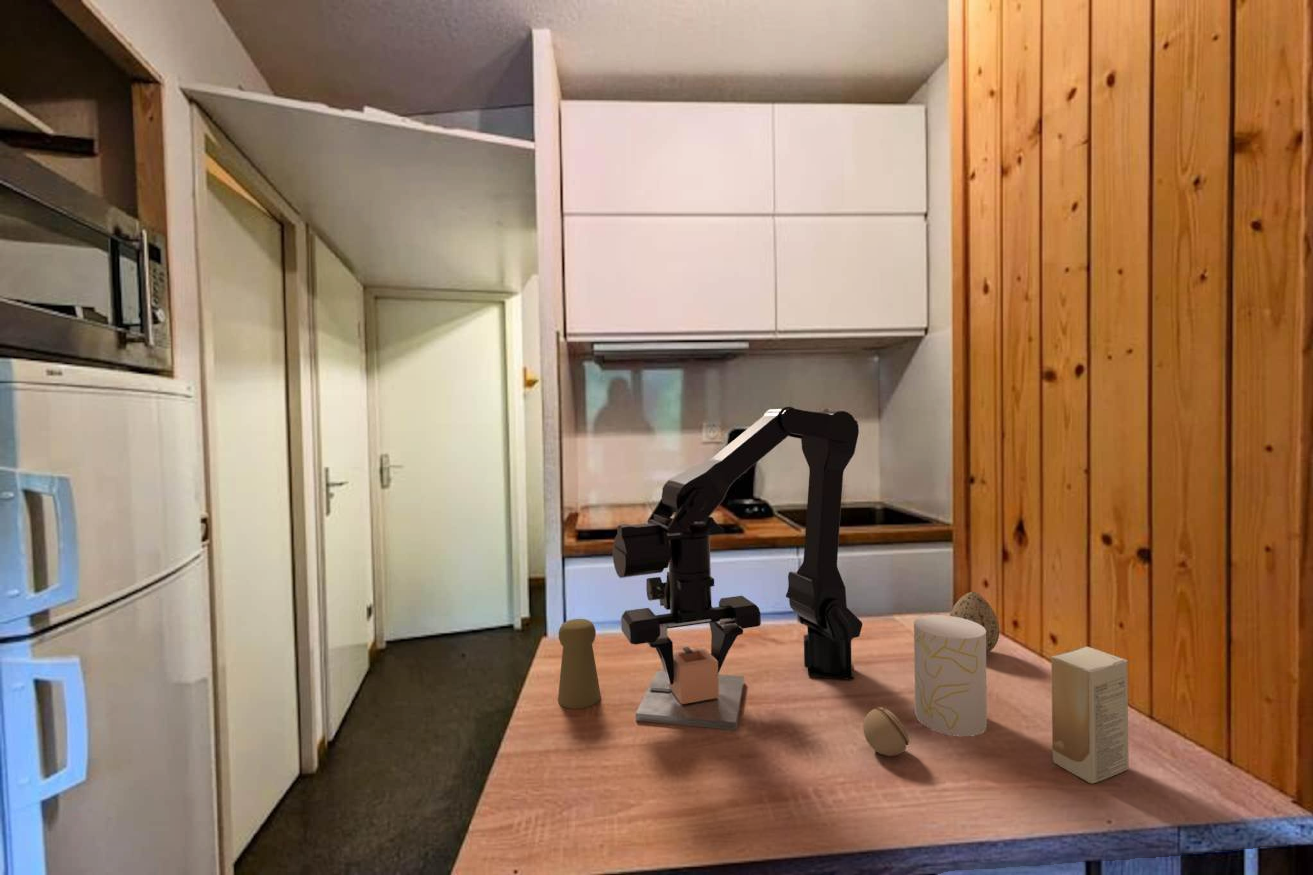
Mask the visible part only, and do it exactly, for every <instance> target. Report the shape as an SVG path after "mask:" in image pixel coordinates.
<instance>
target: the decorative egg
mask: <svg viewBox="0 0 1313 875" xmlns="http://www.w3.org/2000/svg"><path fill="white" fill-rule="evenodd" d="M949 616H953V617H959V618H963V619H967V620H970V621H973V622H976V623H978V624H980V625H981V626H983V627H984V628H985V630H986V654H987V653H989V652H991V651H992V650H993V649H994V648H995V647H996V646H997V644H998V642H999V637H1000V626H999V621H998V617H997V615H996V613H995V611H994V610H993V608H992V606H991V605H990V604H989V602H988V601H987V600H986V599H985V598H984V597H983V596H982V595H981V594H980V593H978V592H975V591H970V592H967V593H965V594H964V595H963V596H961V597H960V598H959V599H958V600H957V602H956V603H955V604H954V605H953V607H952V609H951V611H950V615H949Z"/></svg>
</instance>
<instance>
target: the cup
mask: <svg viewBox="0 0 1313 875" xmlns="http://www.w3.org/2000/svg"><path fill="white" fill-rule="evenodd" d="M913 646H914V647H913V648H914V650H913V652H914V653H913V654H914V656H913V657H914V659H913V660H914V661H913V662H914V665H913V666H914V714H915V715H916V716H915V715H914V716H915V718H916V717H917V718H918V719H919V720H920V721H919V720H918V719H917V718H916V719H917V720H918V721H919V723H921V722H922V723H923V724H925V725H926V726H928V727H929V728H928V727H927V728H928V729H930V728H931V730H932V729H934V730H933V731H935V730H936V731H935V732H937V731H939V732H938V733H940V732H942V733H941V734H943V733H945V734H944V735H947V734H949V736H952V735H955V736H954V737H960V736H970V735H971V737H973V736H972V735H977V734H980V733H982V732H983V731H985V732H986V730H987V728H986V727H988V722H987V718H988V716H987V713H988V712H987V709H988V708H987V653H986V630H985V628H984V627H983V626H981V625H980V624H978V623H976V622H973V621H970V620H967V619H963V618H959V617H953V616H950V615H942V614H941V615H940V614H932V615H931V614H929V615H923V616H918V617H917V618H915V619H914V621H913ZM922 723H921V724H922ZM923 724H922V725H923ZM925 725H924V726H925ZM926 726H925V727H926ZM985 729H986V730H985ZM983 733H984V732H983ZM983 733H982V734H983ZM957 735H958V736H957ZM980 735H981V734H980ZM977 736H978V735H977Z"/></svg>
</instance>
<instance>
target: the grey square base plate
mask: <svg viewBox="0 0 1313 875" xmlns="http://www.w3.org/2000/svg"><path fill="white" fill-rule="evenodd" d="M744 685H745V676H743V675H734V674H733V675H730V674H720V673H718V686H719V698H714V699H708V700H703V701H697V702H692V703H686V704H681V703H680V702H679V700H678V699H677V698H676V696H675V695H674V693H673V692H672V691H671V689H670V688H669V682H668V679H667V676H666V674H665V671H664V669H663V670H662V669H657V671H656V673H655V675H654V676H653V679H652V681H651V682H650V685H649V686H648V689H647V690H646V692H645V694H644V696H643V698H642V700H641V701H640V704H639V705H638V708H637V710H636V711H635V721H636V722H646V723H657V724H666V725H677V726H687V727H696V728H697V727H698V728H709V729H719V730H727V731H728V730H729V731H737V725H738V721H739V714H740V709H741V703H742V696H743V692H744Z"/></svg>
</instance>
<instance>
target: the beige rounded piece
mask: <svg viewBox="0 0 1313 875" xmlns="http://www.w3.org/2000/svg"><path fill="white" fill-rule="evenodd" d="M862 729H863V730H862V731H863V734H864V738H865V740H866V742H867V743H868V745H869V746H870V747H871V748H872V749H873V750H874V751H875V752H877V753H879V754H881V755H882V756H889V757H890V756H897V755H900V754H902V753H903V752H904V751H906V749H907V746H909V743H910V739H909V733H908V730H907V729H906V727H905V726H904V725H903V723H902V722H901V720H900V719H899V718H898V717H897V716H896V715H895V714H894V713H893V712H892V711H891V710H889V709H886V708H884V707H881V706H880V707H877V708H876V709H875V708H874V709H872V710H870V711H869V712H868V713H867V715H866V716H865V719H864V721H863V728H862Z"/></svg>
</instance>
